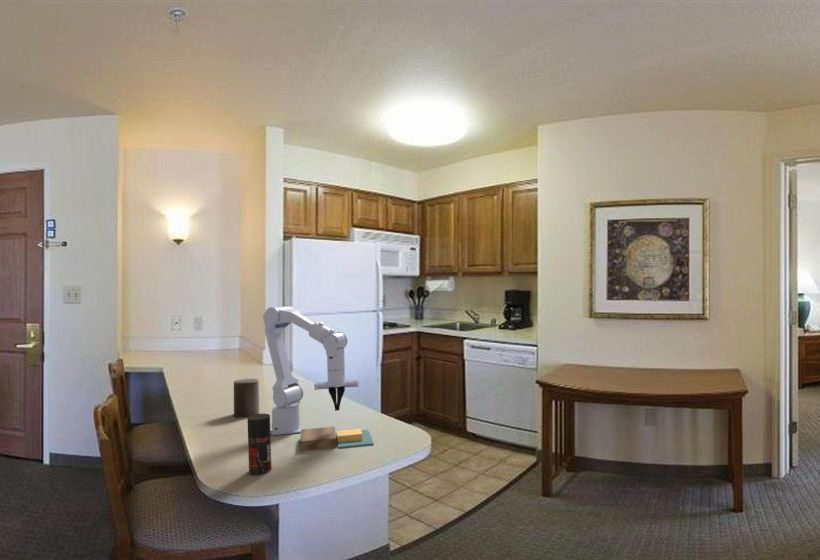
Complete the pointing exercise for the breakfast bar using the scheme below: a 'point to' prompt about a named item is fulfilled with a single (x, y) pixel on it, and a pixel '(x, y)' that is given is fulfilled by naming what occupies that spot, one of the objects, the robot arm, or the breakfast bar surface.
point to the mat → (366, 441)
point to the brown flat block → (318, 438)
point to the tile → (349, 435)
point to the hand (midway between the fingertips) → (337, 409)
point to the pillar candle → (246, 397)
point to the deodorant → (259, 444)
